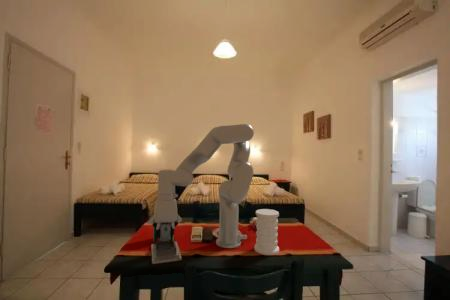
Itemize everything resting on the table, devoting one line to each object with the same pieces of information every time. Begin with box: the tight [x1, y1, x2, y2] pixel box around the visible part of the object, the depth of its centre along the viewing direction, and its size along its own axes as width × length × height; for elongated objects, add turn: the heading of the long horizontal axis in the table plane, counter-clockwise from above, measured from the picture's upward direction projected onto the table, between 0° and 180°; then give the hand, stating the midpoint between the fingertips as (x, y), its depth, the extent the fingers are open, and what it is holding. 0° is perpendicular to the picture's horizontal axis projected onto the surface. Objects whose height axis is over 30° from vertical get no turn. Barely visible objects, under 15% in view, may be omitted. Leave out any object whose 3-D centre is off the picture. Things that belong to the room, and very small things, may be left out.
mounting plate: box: [150, 240, 183, 265], centre depth 106 cm, size 12×18×4 cm, turn 18°
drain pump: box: [159, 222, 172, 241], centre depth 105 cm, size 5×6×8 cm
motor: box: [152, 220, 175, 243], centre depth 121 cm, size 10×9×20 cm
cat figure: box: [249, 216, 258, 230], centre depth 138 cm, size 10×9×25 cm
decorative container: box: [253, 208, 280, 256], centre depth 111 cm, size 12×12×18 cm
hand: (165, 236), depth 106 cm, fingers closed on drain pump, 5 cm apart
